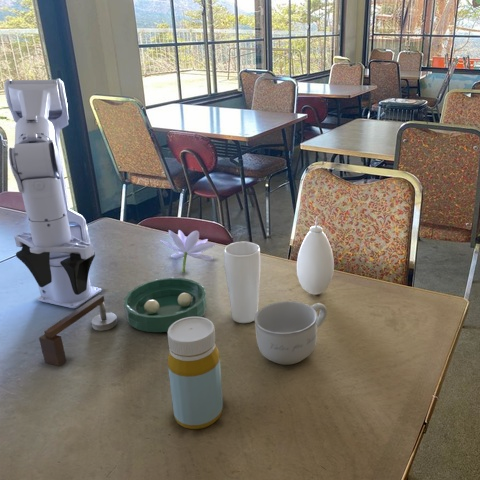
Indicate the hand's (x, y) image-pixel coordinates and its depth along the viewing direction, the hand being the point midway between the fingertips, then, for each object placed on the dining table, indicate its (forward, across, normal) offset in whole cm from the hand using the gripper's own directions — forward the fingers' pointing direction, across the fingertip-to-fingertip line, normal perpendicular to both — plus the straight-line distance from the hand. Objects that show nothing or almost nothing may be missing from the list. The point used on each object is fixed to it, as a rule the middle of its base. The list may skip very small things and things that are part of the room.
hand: (63, 288), depth 84 cm
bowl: (+10, +12, +12) cm, 20 cm away
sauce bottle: (+10, +37, +30) cm, 49 cm away
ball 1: (+8, +10, +10) cm, 16 cm away
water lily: (+10, +5, +33) cm, 35 cm away
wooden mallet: (+10, +3, -1) cm, 10 cm away
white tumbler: (+10, +27, +16) cm, 33 cm away
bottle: (+10, +32, -10) cm, 35 cm away
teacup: (+10, +40, +9) cm, 42 cm away
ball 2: (+8, +14, +15) cm, 22 cm away
